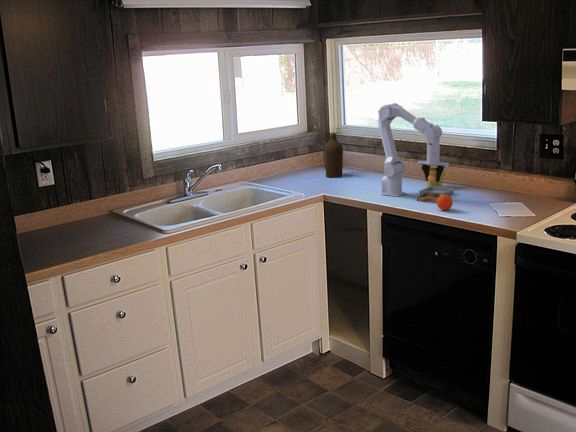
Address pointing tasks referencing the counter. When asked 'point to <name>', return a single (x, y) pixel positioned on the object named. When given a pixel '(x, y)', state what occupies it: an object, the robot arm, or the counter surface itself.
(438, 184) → the plant pot
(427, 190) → the dish
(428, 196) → the tray
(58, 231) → the counter surface
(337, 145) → the olive oil
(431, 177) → the ball
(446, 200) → the clementine
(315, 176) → the counter surface
